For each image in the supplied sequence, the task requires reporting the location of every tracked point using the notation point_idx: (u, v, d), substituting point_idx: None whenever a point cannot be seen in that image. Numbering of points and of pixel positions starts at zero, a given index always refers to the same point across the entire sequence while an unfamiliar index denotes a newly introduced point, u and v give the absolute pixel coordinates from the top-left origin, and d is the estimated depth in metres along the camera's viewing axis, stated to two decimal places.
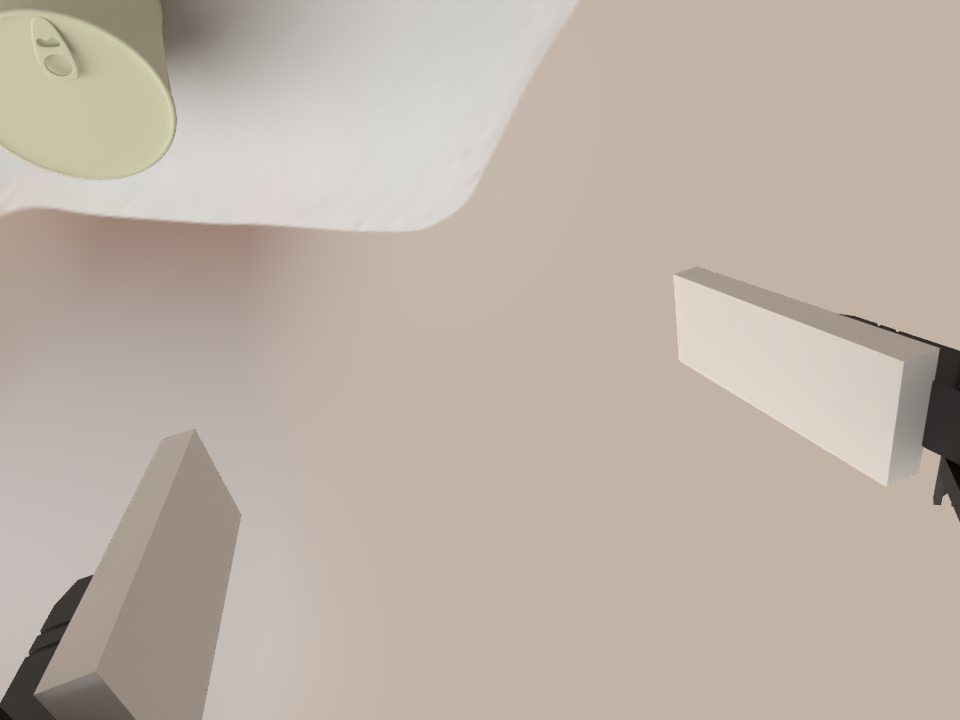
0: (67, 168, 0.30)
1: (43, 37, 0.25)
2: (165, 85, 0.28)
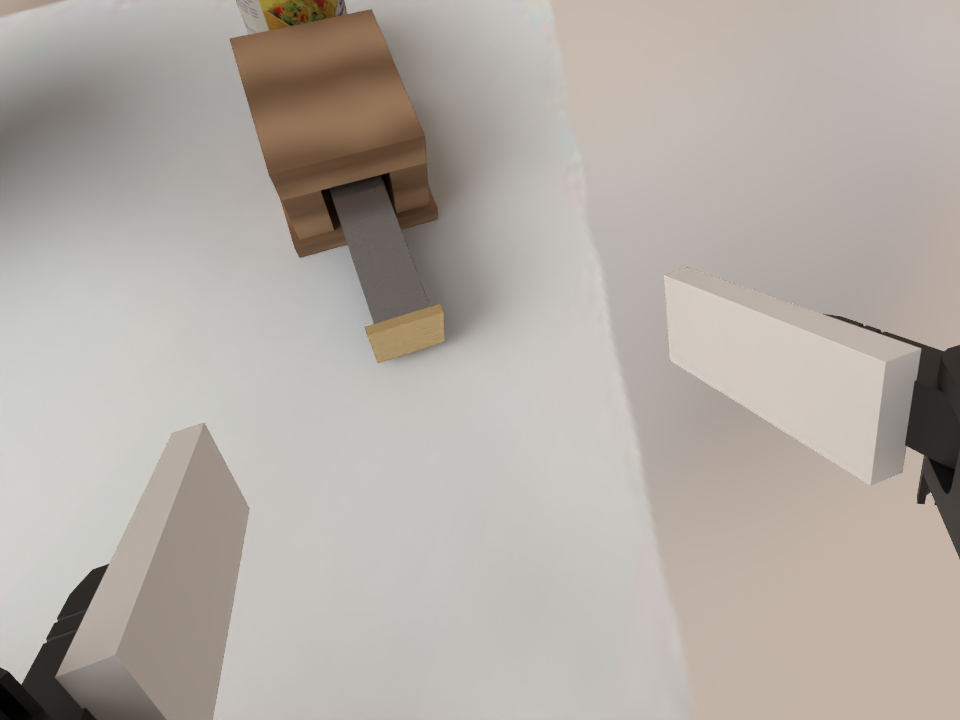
0: None
1: None
2: None
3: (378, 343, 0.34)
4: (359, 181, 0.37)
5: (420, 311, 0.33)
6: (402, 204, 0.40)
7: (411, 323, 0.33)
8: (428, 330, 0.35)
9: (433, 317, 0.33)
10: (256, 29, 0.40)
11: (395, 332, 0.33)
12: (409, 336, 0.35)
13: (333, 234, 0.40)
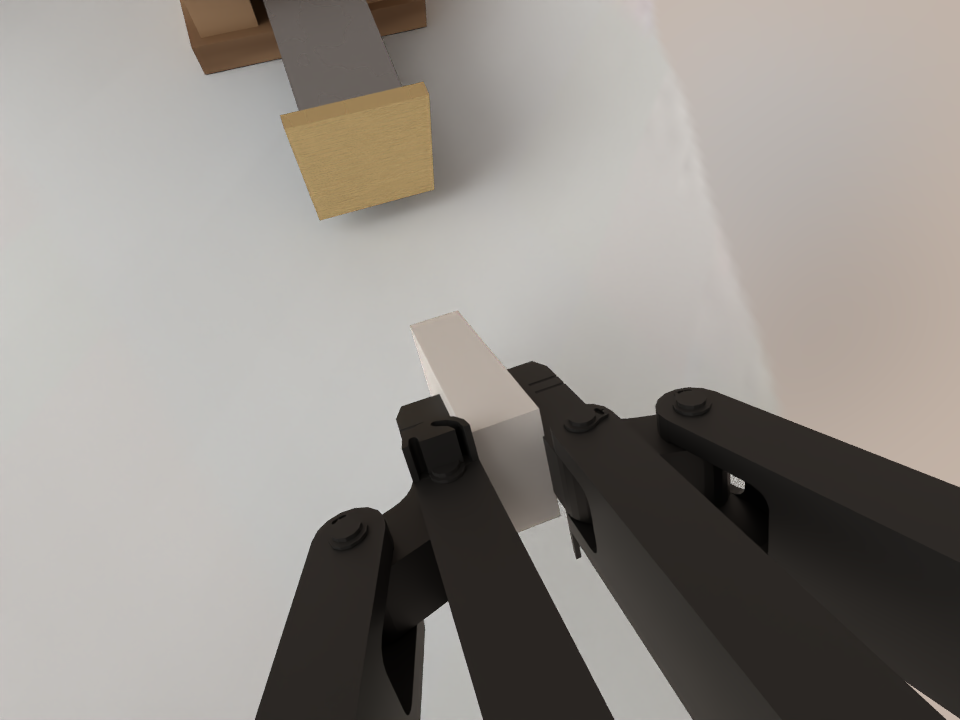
0: None
1: None
2: None
3: (311, 161, 0.19)
4: None
5: (386, 93, 0.18)
6: None
7: (369, 114, 0.18)
8: (404, 148, 0.20)
9: (411, 108, 0.18)
10: None
11: (340, 135, 0.18)
12: (369, 155, 0.19)
13: (256, 31, 0.25)
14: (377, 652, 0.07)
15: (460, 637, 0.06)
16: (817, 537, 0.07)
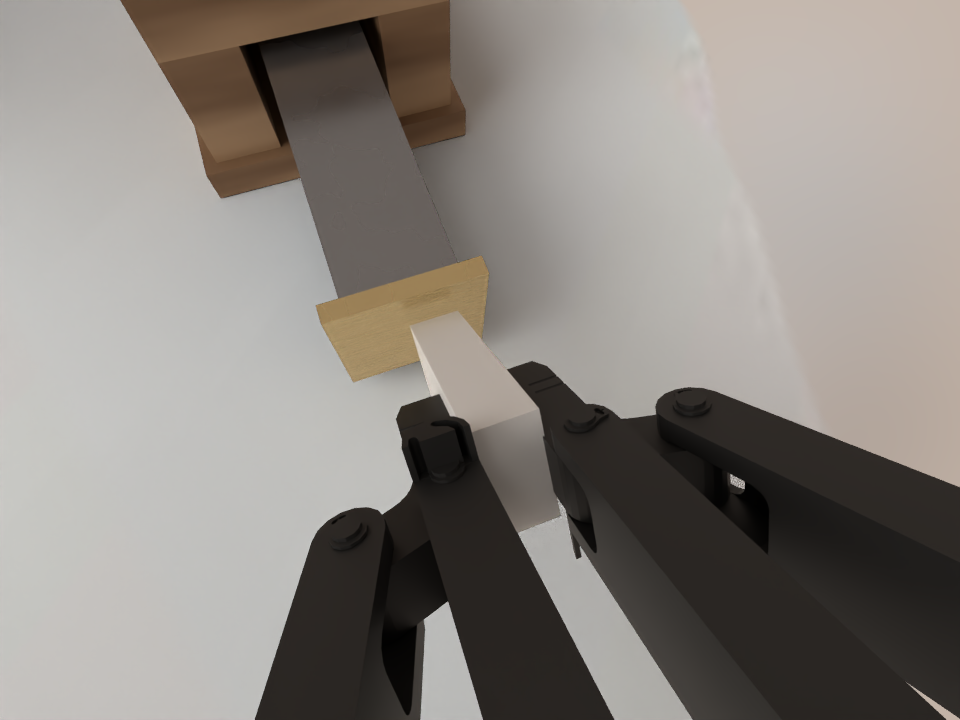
0: None
1: None
2: None
3: (349, 342, 0.16)
4: (317, 30, 0.19)
5: (439, 272, 0.15)
6: (403, 99, 0.22)
7: (419, 298, 0.15)
8: None
9: (468, 285, 0.15)
10: None
11: (384, 318, 0.15)
12: None
13: (279, 153, 0.22)
14: (377, 652, 0.07)
15: (460, 637, 0.06)
16: (817, 537, 0.07)
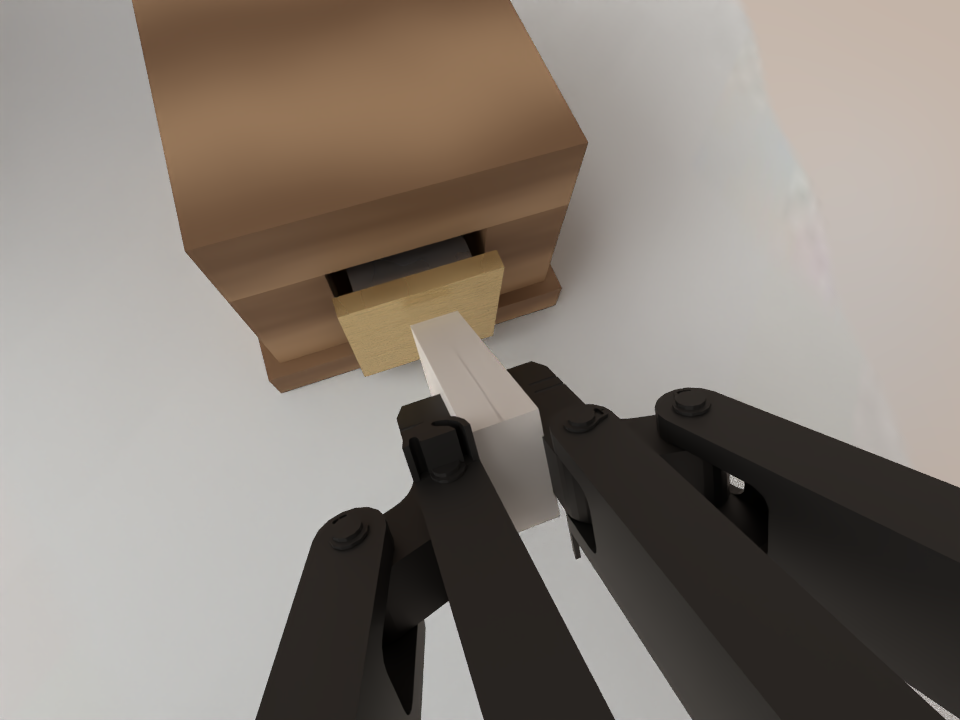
0: None
1: None
2: None
3: (363, 336, 0.16)
4: None
5: (454, 265, 0.15)
6: None
7: (435, 291, 0.15)
8: (467, 310, 0.17)
9: (482, 279, 0.15)
10: None
11: (399, 312, 0.15)
12: None
13: (351, 349, 0.19)
14: (377, 652, 0.07)
15: (460, 637, 0.06)
16: (817, 537, 0.07)
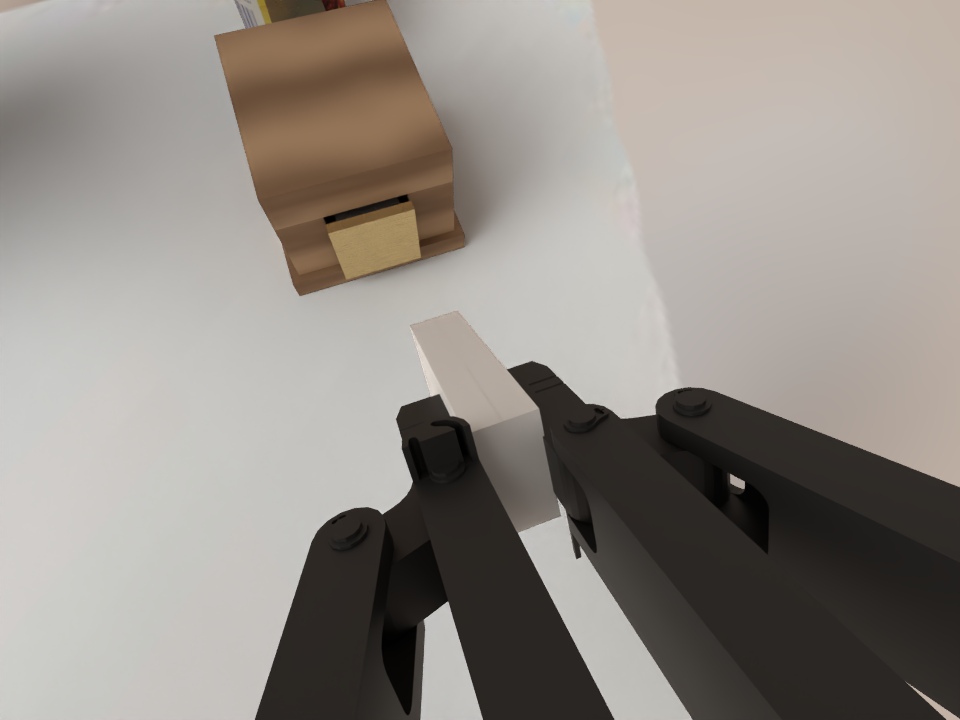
0: None
1: None
2: None
3: (343, 248, 0.30)
4: None
5: (388, 208, 0.29)
6: (422, 231, 0.33)
7: (378, 221, 0.29)
8: (399, 236, 0.31)
9: (404, 216, 0.30)
10: None
11: (361, 233, 0.30)
12: (378, 242, 0.31)
13: (340, 268, 0.33)
14: (377, 652, 0.07)
15: (460, 637, 0.06)
16: (817, 537, 0.07)
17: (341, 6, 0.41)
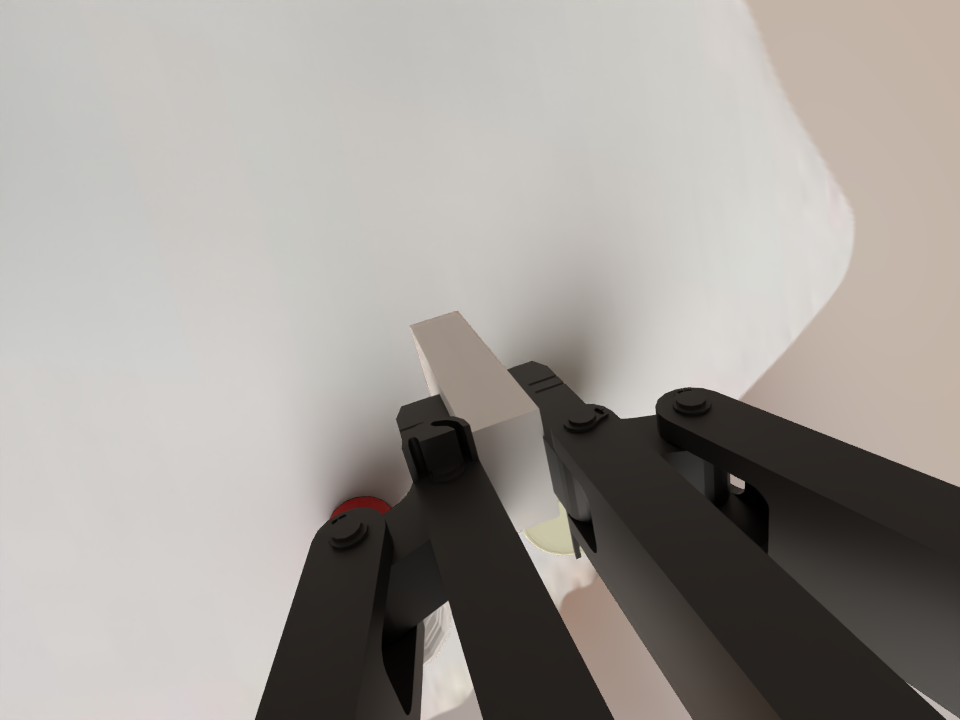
0: None
1: None
2: None
3: None
4: None
5: None
6: None
7: None
8: None
9: None
10: None
11: None
12: None
13: None
14: (377, 652, 0.07)
15: (460, 637, 0.06)
16: (817, 537, 0.07)
17: None
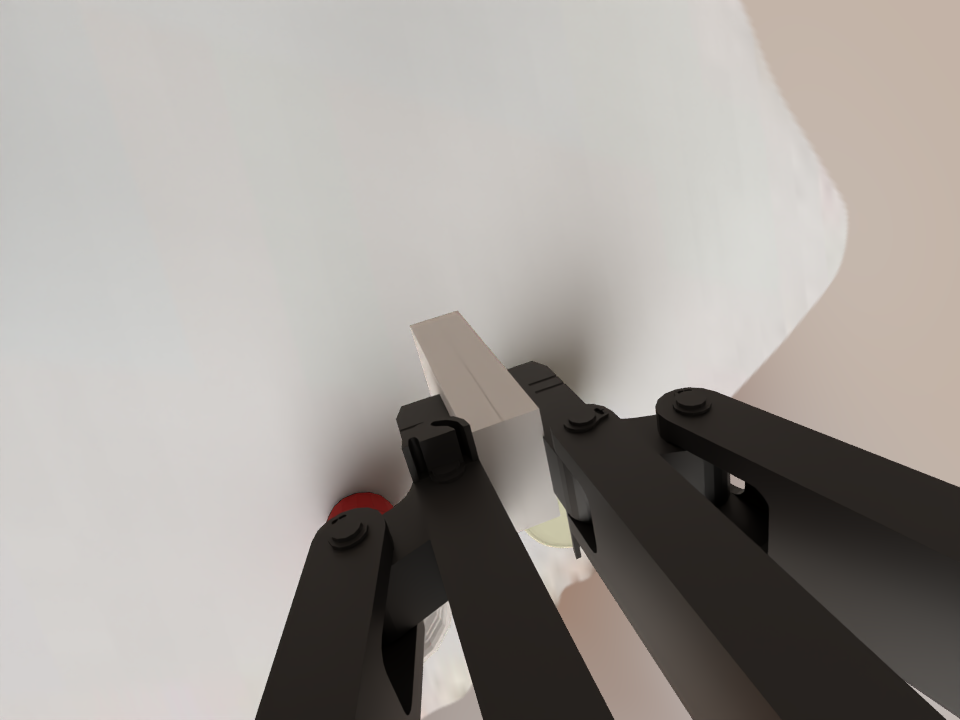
0: None
1: None
2: None
3: None
4: None
5: None
6: None
7: None
8: None
9: None
10: None
11: None
12: None
13: None
14: (377, 652, 0.07)
15: (460, 637, 0.06)
16: (817, 537, 0.07)
17: None
